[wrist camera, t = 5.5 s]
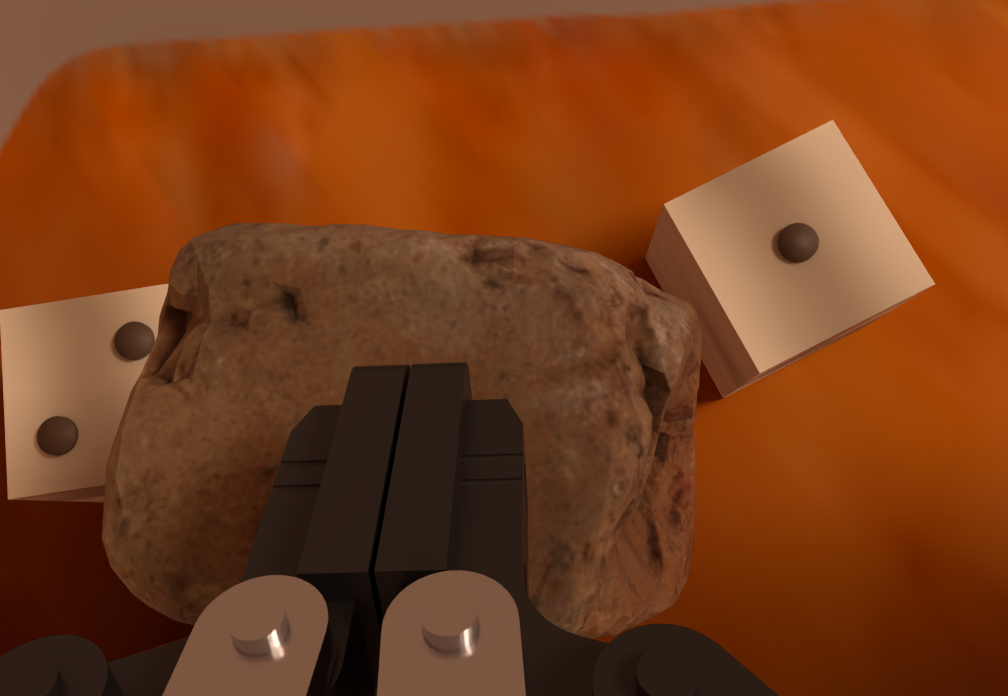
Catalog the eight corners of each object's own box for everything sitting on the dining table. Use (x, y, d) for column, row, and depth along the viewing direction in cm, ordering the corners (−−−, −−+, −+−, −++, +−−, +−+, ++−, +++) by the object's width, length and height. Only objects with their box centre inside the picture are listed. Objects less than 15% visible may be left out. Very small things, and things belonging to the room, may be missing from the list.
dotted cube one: (784, 188, 34) (834, 117, 28) (867, 325, 33) (938, 282, 27) (644, 258, 34) (664, 201, 28) (722, 398, 33) (761, 372, 27)
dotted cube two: (247, 321, 34) (182, 279, 28) (262, 478, 33) (198, 469, 27) (93, 345, 35) (-4, 308, 29) (103, 502, 33) (4, 499, 27)
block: (339, 566, 32) (13, 638, 13) (370, 362, 34) (117, 146, 14) (642, 606, 32) (786, 747, 12) (661, 395, 33) (819, 213, 13)
